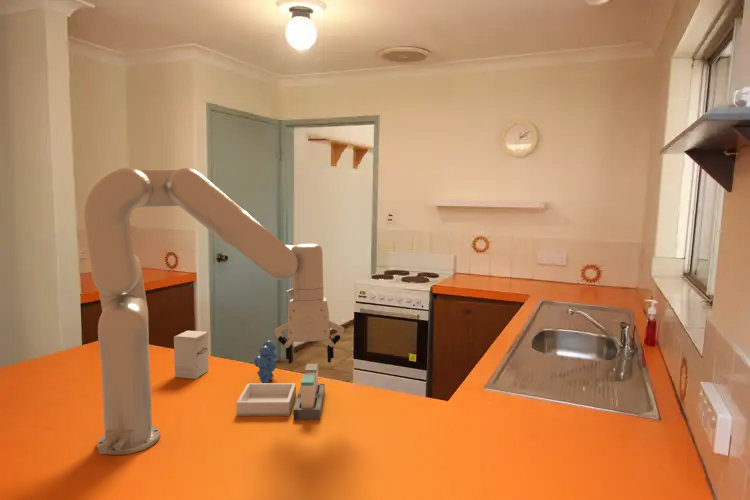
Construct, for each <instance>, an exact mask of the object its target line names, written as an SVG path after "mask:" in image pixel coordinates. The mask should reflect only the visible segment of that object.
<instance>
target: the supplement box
mask: <svg viewBox="0 0 750 500" xmlns="http://www.w3.org/2000/svg"><path fill="white" fill-rule="evenodd" d="M208 336H209V334H208V331H203V330H201V331H200V330H185V331H184V332H181V333H179V334H177V335H175V336H173V346H174V347H173V351H174V378H181V379H192V380H197V379H198V378H199V377H201V376H202V375H204V374H206V373H208V372H209V370H210V369H209V337H208Z"/></svg>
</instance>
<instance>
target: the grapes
mask: <svg viewBox="0 0 750 500" xmlns="http://www.w3.org/2000/svg"><path fill="white" fill-rule="evenodd" d="M276 349H277V346H276V344H275V343H274V342H273V341H271V340H270V339H268V340H266V341H265V342H264V343H263V345H262V347H261V349H259V353H260V355H257V356H256V357H255V358H254V359H253V360H252V362H253V364H254V365H255V367H256V368H258V371H257V372H256V373H257V375H258V377H259V381H260V383H269V382H270V381H271V380H272V379H273V378H274V374H273V372H274V371H275V369H276V368H277V365H276V364H275V363H276V359H277V358H278V355H277V352H276V351H275V350H276Z"/></svg>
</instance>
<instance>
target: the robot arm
mask: <svg viewBox="0 0 750 500" xmlns="http://www.w3.org/2000/svg"><path fill="white" fill-rule="evenodd" d="M176 206H177V207H178V206H179V208H181V209H182V210H184V212H186V213H187V214H189V215H190V216H191V217H192V218H194V219H195V220H196V221H197V222H198V223H200V224H201V225H202V226H204V227H205V228H206V229H208V231H210V232H211V233H212V234H214V235H215V236H216V237H217V238H218V239H220V240H221V241H223V242H224V243H225V244H227V245H228V246H231V247H232V248H234V249H235V250H237V251H239V252H240V253H241V254H242V255H244V256H245V257H246V258H247V259H249V260H250V261H252V263H254V264H255V265H257V267H259V269H260V270H261V271H262V272H264V273H265V274H266V275H268V276H269V277H270V278H272V279H275V280H276V281H277V280H278V281H285V280H288V279H290V278H291V281H292V282H291V283H292V284H291V285H292V287H291V288H290V289H287V290H286V296H290V297H291V299H290V300H289V303H288V311H287V313H288V314H287V321H286V322H285V323H283V324H282V325H279V326H277V327H276V328H275V329H274V331H273V333H274V335H275V337H276V338H277V341H278V342H279V343H281V345H283V347H284V348H285V359H286V360H288V364H293V361H294V348H293V347H294V346H293V344H292V343H293V342H297V343H299V342H326V344H327V348H326V349H327V351H326V353H327V363H329V364H330V363H331V362H332V359H334V356H335V355H334V353H335V352H334V351H335V350H334V348H335V347H334V346H335V345H336V344H337V343H338V342H339V341H340V339H341V337H342V336H343V334H344V331H345V327H344V326H342V325H340V324H338V323H335V322H334V321H331V320H330V312H329V306H328V301H327V298H326V297H325V296H324V264H323V263H324V262H323V248H322V246H321V245H320V244H317V243H300V244H295V245H290V244H284V242H283V241H281V240H280V239H278V238H277V237H276V236H275V235H274V234H273V233H271V232H270V231H269V230H268V229H266V227H264V226H263V225H262V224H260V222H258V221H257V220H256V219H255V218H254V217H253V216H251V214H250V213H248V212H247V211H246V210H245V209H243V208H242V207H241V206H240V205H238V203H236V202H235V201H234V200H233V199H231V198H230V197H229V196H228V195H227V194H226V193H224V192H223V191H222V190H221V189H220V188H219V187H217V186H216V185H215V184H214V183H213V182H211V181H210V180H209V179H208V178H207V177H206V176H204V175H203V174H202V173H201V172H199V171H197V170H196V169H193V168H191V167H190V168H189V167H182V168H179V169H165V170H164V169H162V170H161V169H160V170H159V169H137V168H134V167H123V168H118V169H117V170H114V171H112V172H109V174H106V175H105V176H104V177H103V178H101V179H100V180H99V181H98V182H97V183H96V184H95V185H93V187H92V189H91V190H90V192H89V194H88V196H87V198H86V201H85V206H84V224H85V230H86V232H85V233H86V238H87V248H88V249H87V250H88V254H89V260H90V267H91V268H90V271H91V279H92V282H93V284H94V286H95V287H96V289H97V290H98V293H99V294H98V296H99V300H100V305H101V311H102V312H101V314H100V316H99V319H98V324H97V337H98V338H97V341H98V346H99V358H100V359H99V360H100V372H101V373H100V376H101V388H102V389H101V390H102V406H103V410H102V411H103V424H104V425H103V426H104V427H103V428H104V429H103V430H104V434H102V435H101V436H100V437H99V438H98V439H97V442H96V448H97V452H98V453H99V454H100V455H111V456H113V455H114V456H118V455H120V456H122V455H129V454H134V453H137V452H140V451H144V450H146V449H148V448H150V447H152V446H154V445H155V444H156V443H157V442H158V441H159V440H160V438H161V430H160V429H159V428H158V427H157V426H154V425H153V416H152V415H153V414H152V413H153V411H152V410H153V409H152V408H153V407H152V389H151V387H152V386H151V370H150V369H151V368H150V367H151V365H150V364H151V363H150V344H149V342H150V341H149V340H150V339H149V338H150V337H149V308H148V303H147V295H146V289H145V283H144V282H145V281H144V277H143V271H142V269H143V268H142V265H141V261H140V259H139V257H138V256H137V255H136V253H135V247H134V241H133V231H132V225H131V217H132V214H133V211H134V210H135V209H136V208H145V207H146V208H151V207H153V208H154V207H176ZM331 329H332V330H335V331H337V332H336V334H335V335H334V336H333V337H332V336H331V335H330V331H331ZM286 330H287V338H286V337H285V336H284V335H283V333H282V332H284V331H286Z"/></svg>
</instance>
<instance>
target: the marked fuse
mask: <svg viewBox="0 0 750 500" xmlns="http://www.w3.org/2000/svg"><path fill="white" fill-rule="evenodd" d="M300 387H301V408H315V375H305V374H303V376H302V378H301V382H300Z"/></svg>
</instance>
